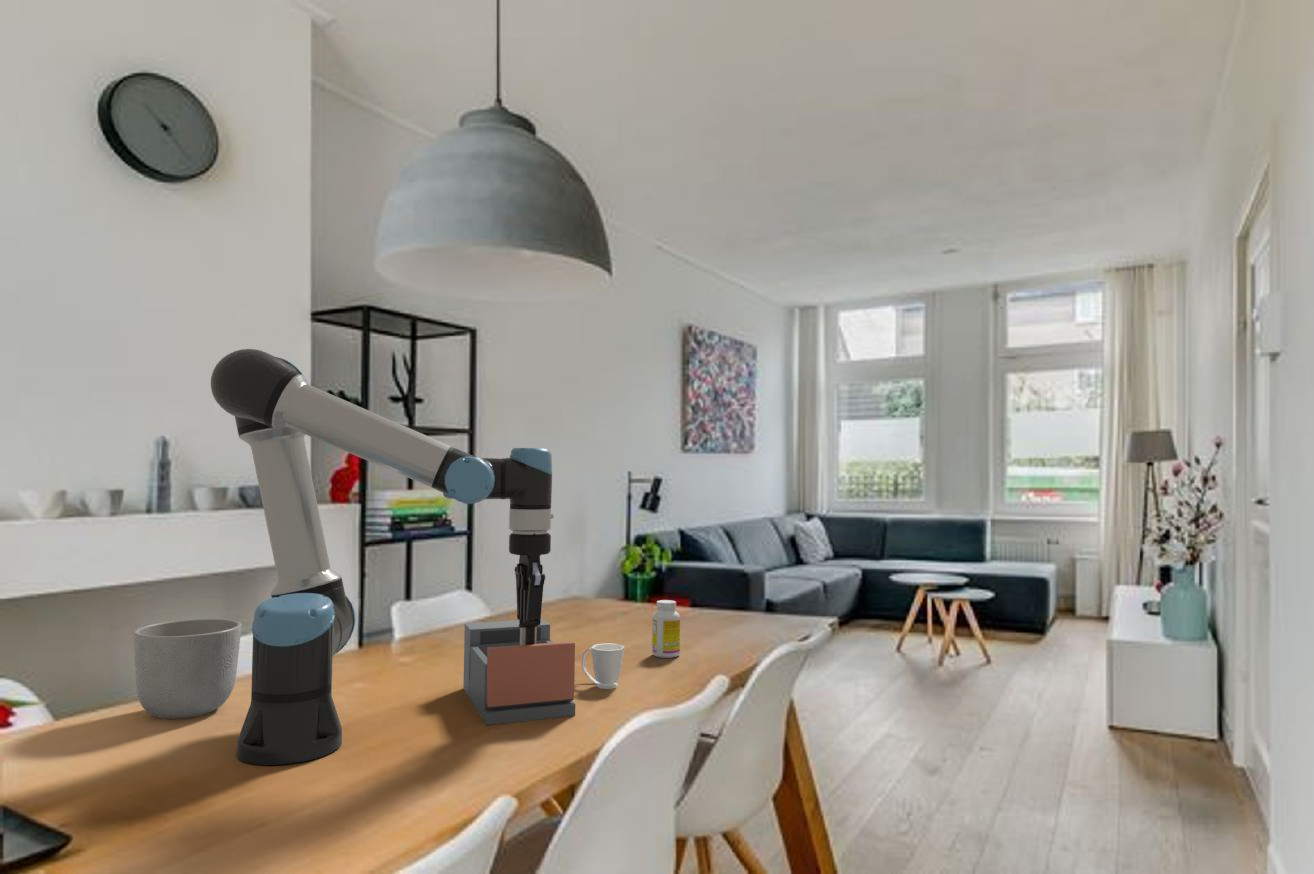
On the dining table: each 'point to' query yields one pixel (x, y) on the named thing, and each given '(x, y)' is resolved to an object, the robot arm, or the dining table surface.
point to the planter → (186, 666)
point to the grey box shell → (494, 638)
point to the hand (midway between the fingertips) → (527, 662)
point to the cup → (605, 664)
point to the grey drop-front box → (515, 712)
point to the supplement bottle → (666, 630)
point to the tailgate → (530, 674)
